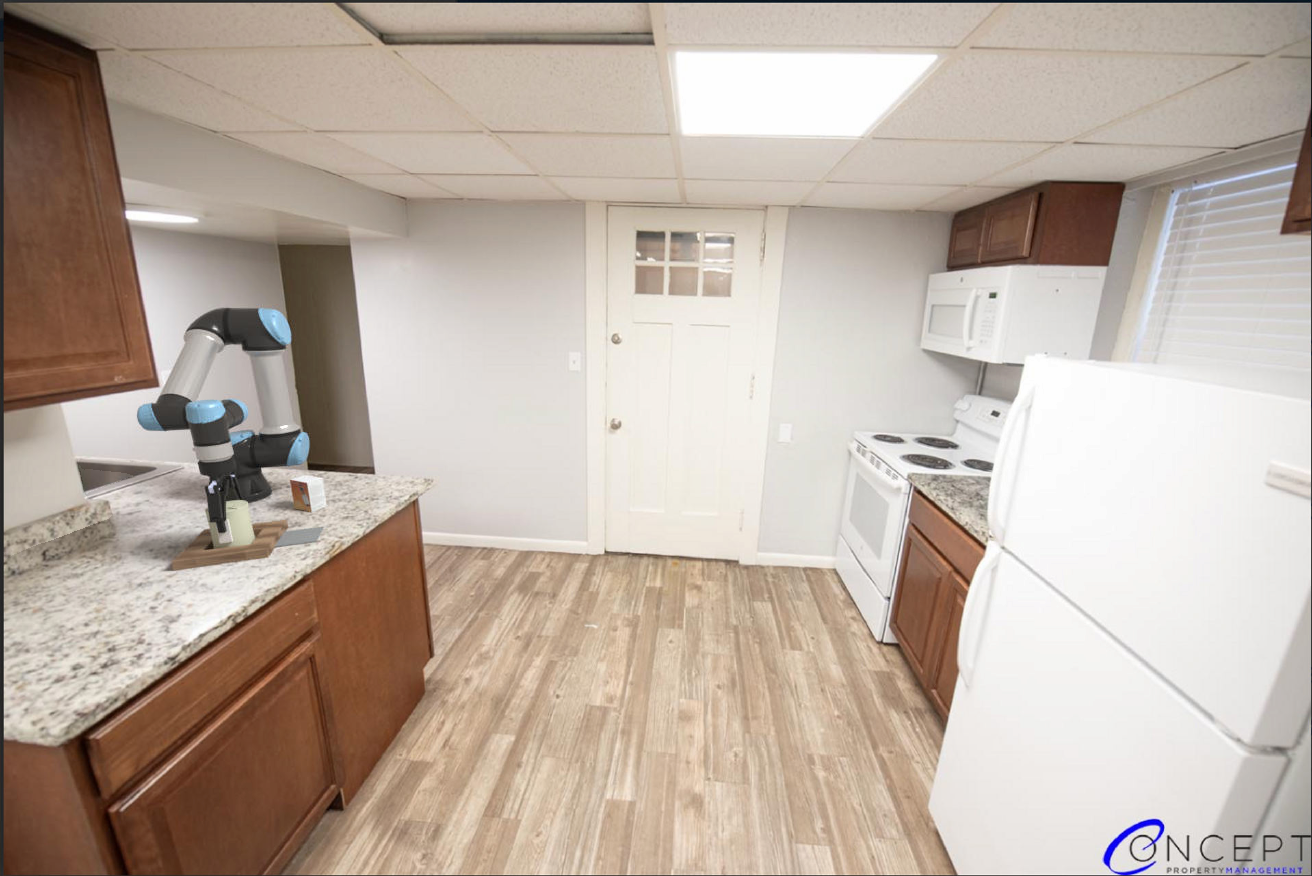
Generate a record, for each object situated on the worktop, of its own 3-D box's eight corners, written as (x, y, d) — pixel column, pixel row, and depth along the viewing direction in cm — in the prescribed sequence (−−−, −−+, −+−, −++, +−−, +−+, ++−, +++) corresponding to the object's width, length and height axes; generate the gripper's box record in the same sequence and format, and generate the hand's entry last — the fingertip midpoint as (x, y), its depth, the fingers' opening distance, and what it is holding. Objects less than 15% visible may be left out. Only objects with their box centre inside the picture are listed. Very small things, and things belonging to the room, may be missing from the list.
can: (232, 553, 134) (222, 513, 131) (204, 549, 136) (194, 509, 133) (264, 538, 143) (256, 500, 140) (238, 534, 144) (229, 496, 141)
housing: (206, 537, 145) (204, 529, 144) (288, 527, 152) (286, 519, 152) (173, 570, 127) (171, 562, 126) (268, 557, 135) (266, 549, 134)
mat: (284, 532, 149) (284, 531, 149) (323, 527, 153) (323, 526, 152) (274, 547, 140) (274, 546, 140) (316, 541, 144) (316, 540, 144)
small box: (294, 508, 165) (288, 479, 163) (310, 502, 171) (305, 474, 168) (311, 512, 163) (306, 482, 160) (327, 506, 168) (322, 477, 165)
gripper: (214, 448, 140) (230, 520, 147) (179, 472, 121) (199, 554, 127) (247, 445, 143) (261, 517, 149) (217, 469, 124) (235, 549, 130)
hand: (233, 534), depth 138 cm, fingers closed on can, 9 cm apart
